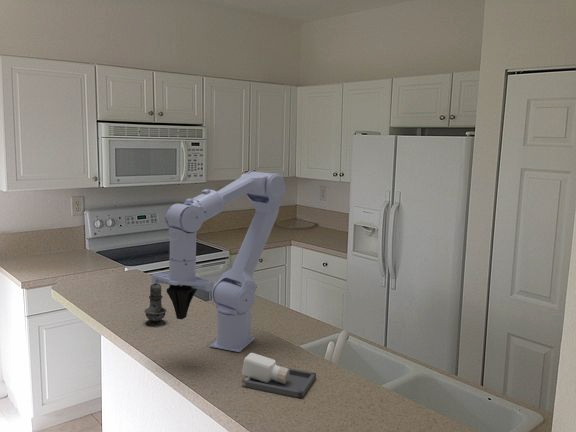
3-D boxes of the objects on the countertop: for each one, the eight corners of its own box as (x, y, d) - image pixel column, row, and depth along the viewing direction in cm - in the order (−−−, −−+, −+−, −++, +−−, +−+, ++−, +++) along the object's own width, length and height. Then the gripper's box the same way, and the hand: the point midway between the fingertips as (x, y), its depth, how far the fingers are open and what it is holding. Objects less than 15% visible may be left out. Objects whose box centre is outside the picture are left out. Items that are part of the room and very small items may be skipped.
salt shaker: (143, 320, 147) (143, 277, 145) (165, 318, 148) (166, 277, 147) (144, 327, 141) (145, 283, 139) (167, 326, 143) (168, 282, 141)
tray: (259, 367, 120) (259, 362, 120) (315, 378, 116) (316, 373, 115) (241, 386, 110) (241, 380, 110) (301, 398, 106) (302, 393, 106)
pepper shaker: (247, 367, 117) (288, 381, 114) (240, 375, 113) (282, 389, 110) (250, 350, 116) (291, 364, 113) (243, 357, 112) (285, 371, 109)
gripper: (143, 258, 116) (143, 318, 118) (203, 266, 111) (201, 328, 113) (161, 252, 123) (160, 309, 125) (218, 259, 118) (216, 318, 120)
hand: (181, 317), depth 119 cm, fingers closed
